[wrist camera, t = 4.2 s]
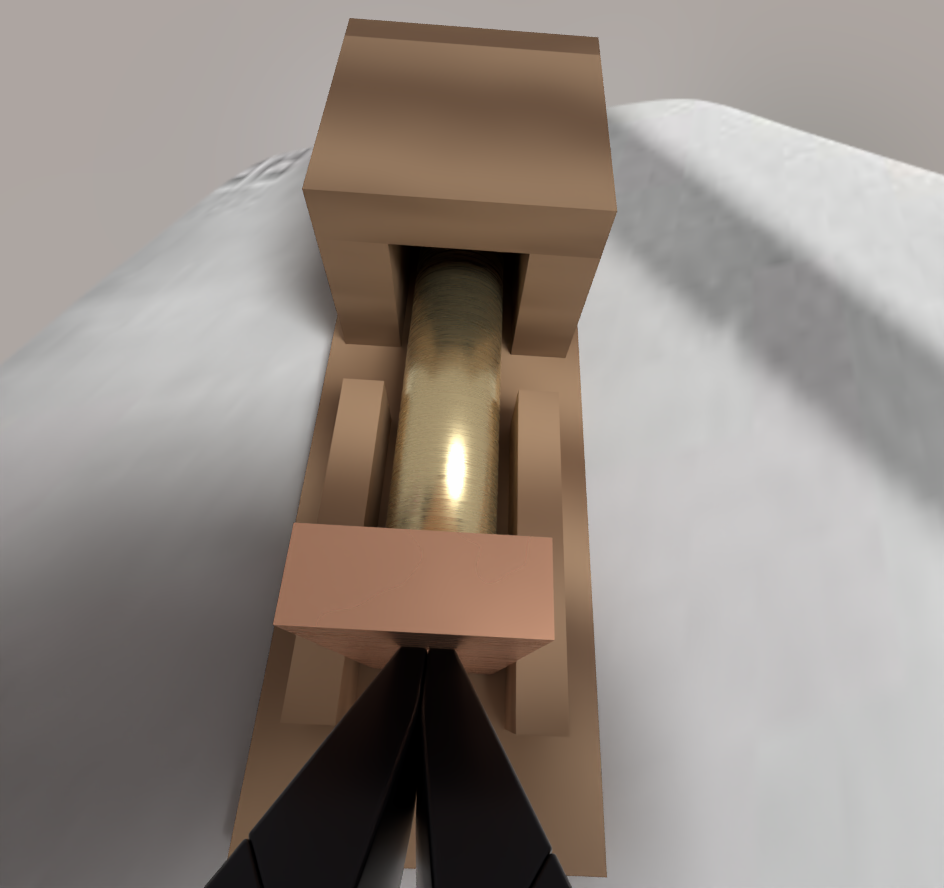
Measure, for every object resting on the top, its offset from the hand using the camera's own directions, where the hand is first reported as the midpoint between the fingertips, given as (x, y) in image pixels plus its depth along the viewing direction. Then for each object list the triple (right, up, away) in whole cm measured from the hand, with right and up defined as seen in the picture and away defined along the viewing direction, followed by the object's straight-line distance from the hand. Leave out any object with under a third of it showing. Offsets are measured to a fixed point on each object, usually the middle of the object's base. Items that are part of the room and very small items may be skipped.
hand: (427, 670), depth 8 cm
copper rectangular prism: (0, +3, +9) cm, 10 cm away
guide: (0, +3, +10) cm, 11 cm away
